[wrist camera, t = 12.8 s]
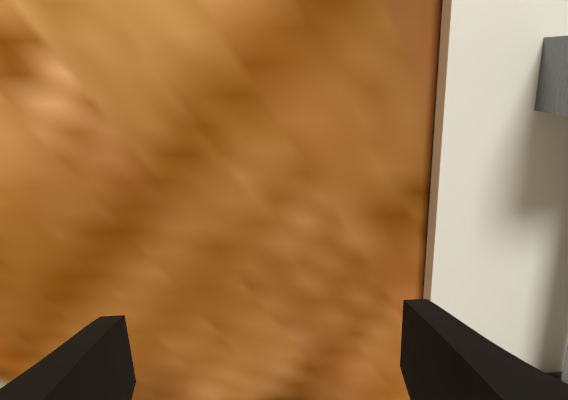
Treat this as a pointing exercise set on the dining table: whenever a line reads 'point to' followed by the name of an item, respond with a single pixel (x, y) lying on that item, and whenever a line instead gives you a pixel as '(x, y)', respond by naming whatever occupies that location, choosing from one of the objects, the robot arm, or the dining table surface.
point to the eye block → (553, 77)
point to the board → (500, 180)
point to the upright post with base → (564, 376)
